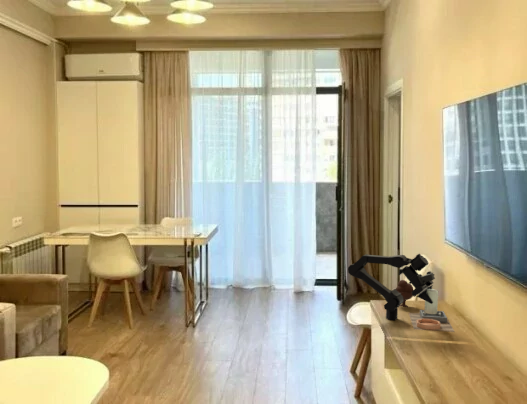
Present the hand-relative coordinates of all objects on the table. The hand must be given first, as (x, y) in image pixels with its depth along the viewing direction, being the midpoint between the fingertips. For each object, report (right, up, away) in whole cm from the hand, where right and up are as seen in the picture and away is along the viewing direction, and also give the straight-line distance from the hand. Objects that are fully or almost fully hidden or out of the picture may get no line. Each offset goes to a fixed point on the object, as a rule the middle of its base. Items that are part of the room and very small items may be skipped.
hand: (434, 301), depth 291 cm
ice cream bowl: (-6, -9, +37) cm, 39 cm away
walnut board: (0, -12, +7) cm, 14 cm away
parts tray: (+3, -11, +13) cm, 17 cm away
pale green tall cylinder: (-1, -5, +1) cm, 6 cm away
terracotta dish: (-3, -12, 0) cm, 12 cm away
